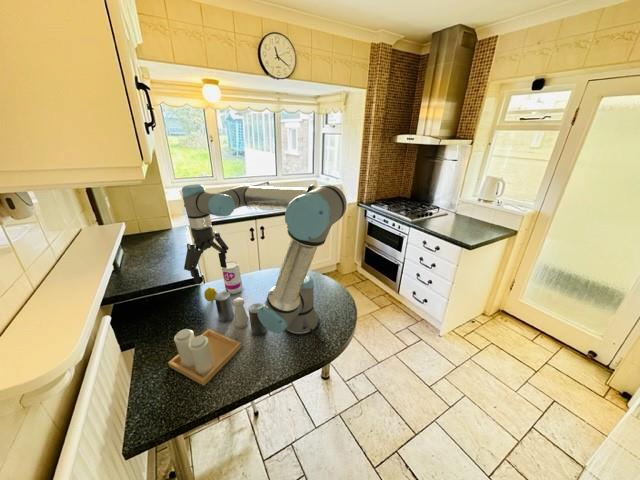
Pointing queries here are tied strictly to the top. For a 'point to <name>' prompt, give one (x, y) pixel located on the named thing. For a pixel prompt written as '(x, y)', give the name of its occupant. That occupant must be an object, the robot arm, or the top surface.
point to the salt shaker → (240, 313)
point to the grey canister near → (256, 320)
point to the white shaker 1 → (184, 347)
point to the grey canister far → (224, 307)
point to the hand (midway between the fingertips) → (211, 274)
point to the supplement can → (232, 278)
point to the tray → (220, 352)
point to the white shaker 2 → (201, 355)
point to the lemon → (210, 294)
